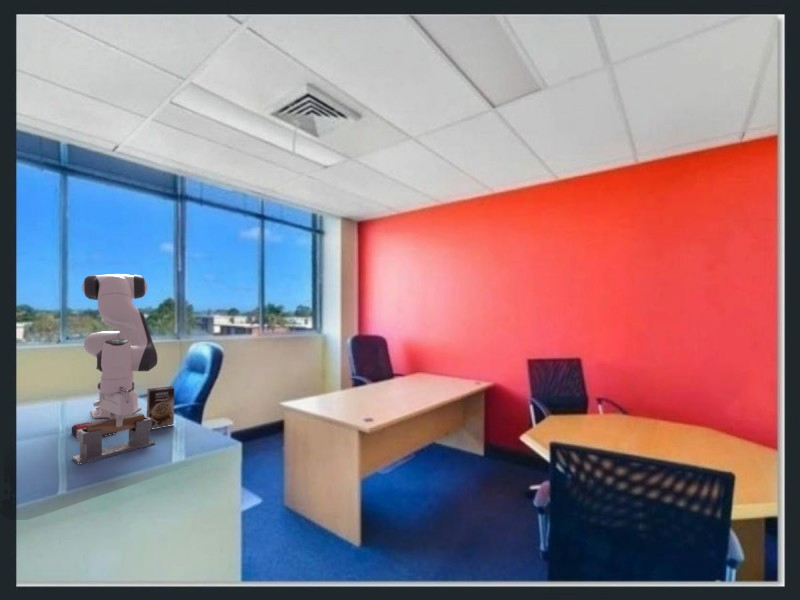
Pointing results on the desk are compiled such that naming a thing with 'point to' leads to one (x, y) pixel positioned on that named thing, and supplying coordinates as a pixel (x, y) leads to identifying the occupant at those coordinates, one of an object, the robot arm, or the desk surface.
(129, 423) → the rail
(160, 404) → the coffee box
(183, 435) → the desk surface
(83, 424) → the calculator
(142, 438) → the bracket
